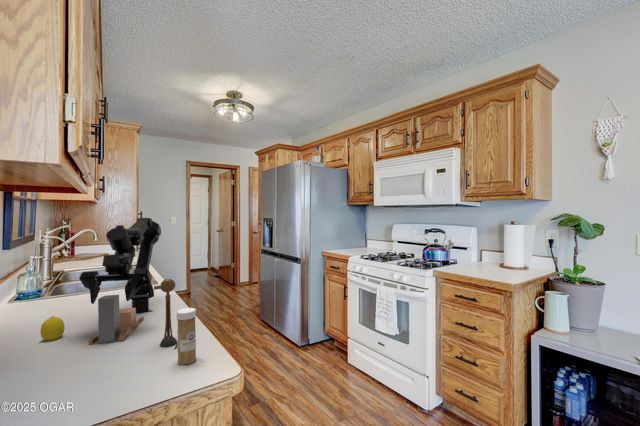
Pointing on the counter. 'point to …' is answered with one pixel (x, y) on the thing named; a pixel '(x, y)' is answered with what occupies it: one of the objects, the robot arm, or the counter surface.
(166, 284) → the wooden tabletop sculpture
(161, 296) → the counter surface
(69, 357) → the counter surface
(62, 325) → the lemon
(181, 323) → the sprinkles bottle
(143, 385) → the counter surface
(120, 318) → the terracotta block
